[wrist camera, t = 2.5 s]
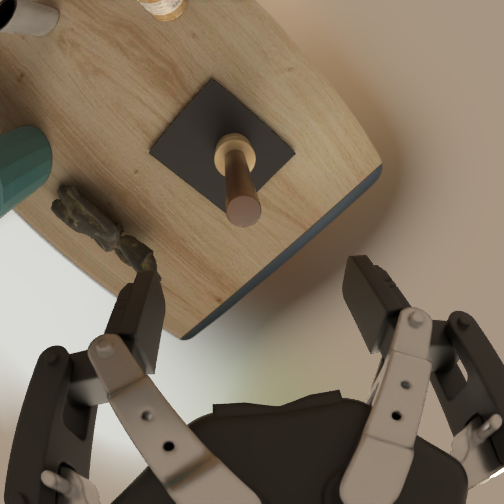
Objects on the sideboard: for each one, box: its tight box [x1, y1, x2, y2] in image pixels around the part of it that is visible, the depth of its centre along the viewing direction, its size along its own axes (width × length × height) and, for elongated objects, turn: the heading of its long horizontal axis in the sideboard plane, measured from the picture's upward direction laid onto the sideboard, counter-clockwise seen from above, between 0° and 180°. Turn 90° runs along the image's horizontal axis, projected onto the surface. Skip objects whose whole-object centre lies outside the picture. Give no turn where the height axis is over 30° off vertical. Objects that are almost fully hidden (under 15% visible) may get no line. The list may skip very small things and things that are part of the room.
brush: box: [214, 133, 261, 227], centre depth 26 cm, size 4×4×19 cm
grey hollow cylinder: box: [0, 0, 59, 36], centre depth 16 cm, size 4×4×10 cm
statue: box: [51, 184, 161, 281], centre depth 36 cm, size 6×6×20 cm
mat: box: [149, 79, 296, 213], centre depth 34 cm, size 14×12×1 cm
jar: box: [0, 126, 52, 218], centre depth 26 cm, size 10×10×12 cm
